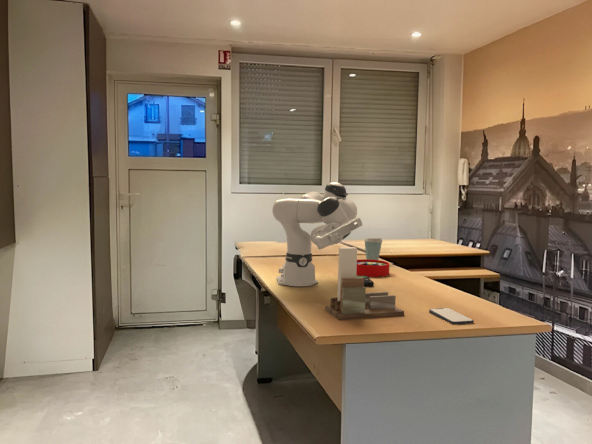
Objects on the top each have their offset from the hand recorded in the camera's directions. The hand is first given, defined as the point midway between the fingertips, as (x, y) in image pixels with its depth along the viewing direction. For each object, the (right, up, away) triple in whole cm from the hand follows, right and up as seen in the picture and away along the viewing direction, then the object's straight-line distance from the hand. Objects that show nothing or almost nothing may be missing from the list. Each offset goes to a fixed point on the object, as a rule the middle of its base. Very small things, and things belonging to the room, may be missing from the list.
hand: (347, 230), depth 180 cm
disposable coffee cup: (+26, -21, +100) cm, 105 cm away
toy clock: (+19, -24, +66) cm, 73 cm away
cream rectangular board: (-2, -28, -11) cm, 30 cm away
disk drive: (+10, -26, +40) cm, 49 cm away
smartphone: (+35, -31, -14) cm, 49 cm away
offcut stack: (0, -28, -16) cm, 33 cm away
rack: (+5, -30, -10) cm, 31 cm away
